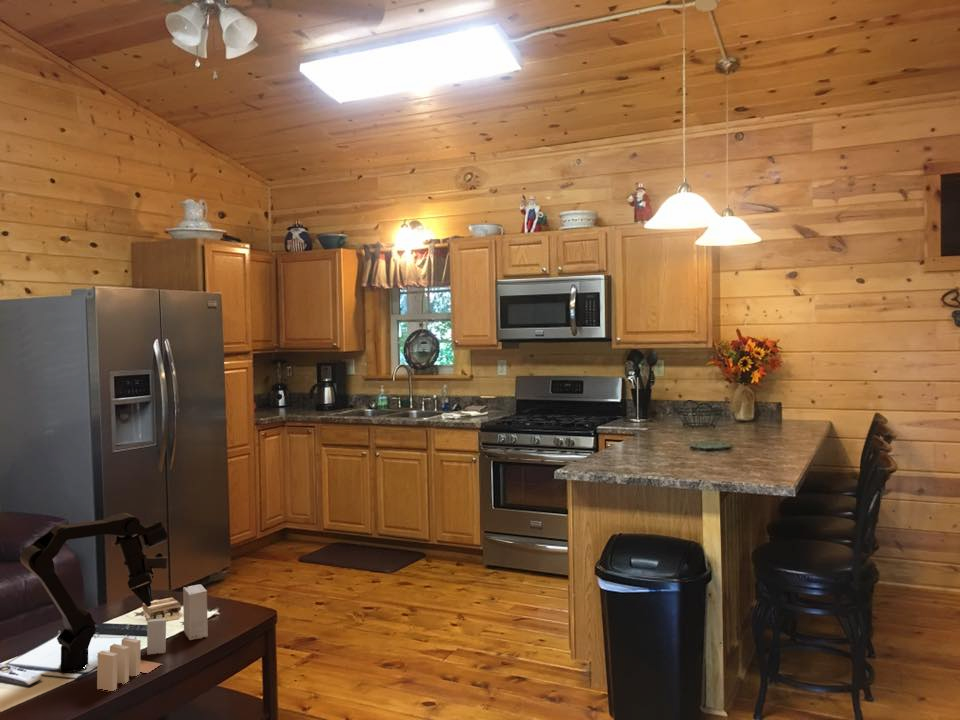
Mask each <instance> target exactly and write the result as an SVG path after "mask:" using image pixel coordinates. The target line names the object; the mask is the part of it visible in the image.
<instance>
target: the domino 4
mask: <svg viewBox="0 0 960 720" xmlns="http://www.w3.org/2000/svg"><path fill="white" fill-rule="evenodd" d="M146 629H147V631H146V632H147V633H146V634H147V635H146V636H147V637H146V638H147V642H146V643H147V644H146V647H147V648H146V653H147V654H146V655H156V654H157V653H158V654H166V650H167V646H166V645H167V643H166V642H167V618H165V617H164V618H154V619H153V618H151V619H148V620H147V627H146Z"/></svg>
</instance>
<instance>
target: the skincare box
mask: <svg viewBox="0 0 960 720" xmlns="http://www.w3.org/2000/svg"><path fill="white" fill-rule="evenodd" d="M182 595H183V597H182V599H183V604H182V605H183V633H184V634H185V636H186V637H187V639H188V640H189V641H192V640H198V639H199V640H200V639H204V638H203V637H205V638H208V635H209V633H208V630H209V629H208V625H209V624H208V623H209V622H208V590H207V589H206V588H205V587H204V586H203V585H202V584H194V585H190V586H189V585H188V586H185V587H183V588H182Z"/></svg>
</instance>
